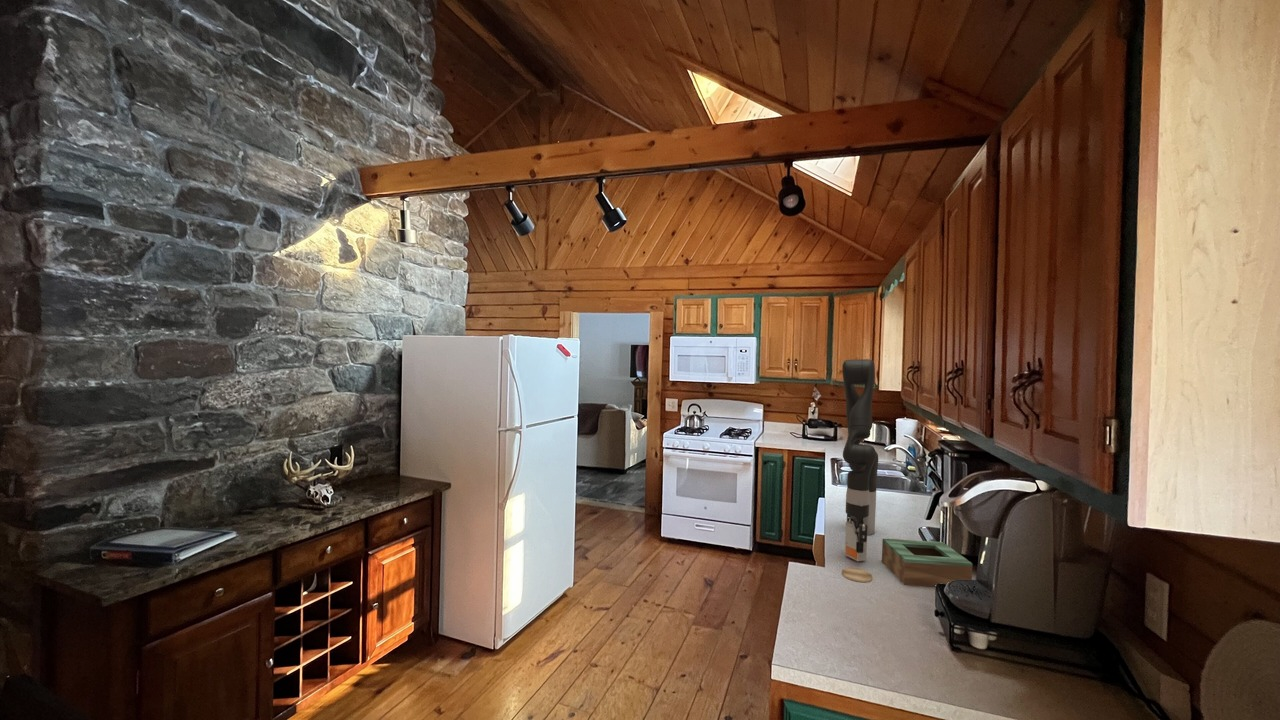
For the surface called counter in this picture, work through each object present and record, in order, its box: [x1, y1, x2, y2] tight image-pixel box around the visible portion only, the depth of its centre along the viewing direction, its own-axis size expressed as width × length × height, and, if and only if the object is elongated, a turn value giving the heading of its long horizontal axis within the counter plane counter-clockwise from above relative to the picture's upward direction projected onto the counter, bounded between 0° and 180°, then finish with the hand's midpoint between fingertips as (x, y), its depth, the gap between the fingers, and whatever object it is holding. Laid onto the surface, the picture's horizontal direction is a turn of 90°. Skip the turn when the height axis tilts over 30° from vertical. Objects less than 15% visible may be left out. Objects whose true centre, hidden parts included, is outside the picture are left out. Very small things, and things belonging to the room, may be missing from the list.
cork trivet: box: [841, 567, 873, 583], centre depth 164 cm, size 9×9×1 cm
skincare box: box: [844, 521, 868, 562], centre depth 178 cm, size 6×4×12 cm
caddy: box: [881, 538, 973, 588], centre depth 167 cm, size 18×20×8 cm
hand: (855, 548), depth 178 cm, fingers closed on skincare box, 7 cm apart
